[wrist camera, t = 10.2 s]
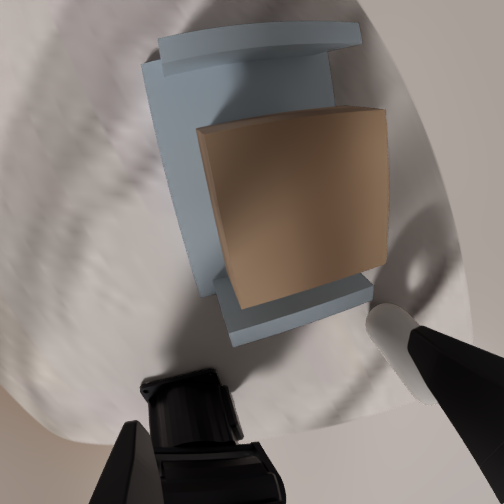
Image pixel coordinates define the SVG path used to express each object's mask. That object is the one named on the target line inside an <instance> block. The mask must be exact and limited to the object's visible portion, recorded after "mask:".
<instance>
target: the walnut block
mask: <svg viewBox="0 0 504 504" xmlns="http://www.w3.org/2000/svg"><path fill="white" fill-rule="evenodd" d="M196 133H197V138H198V143H199V148H200V153H201V158H202V162H203V167H204V172H205V177H206V181H207V186H208V191H209V195H210V200H211V204H212V209H213V214H214V218H215V223H216V227H217V231H218V236H219V240H220V245H221V249H222V253H223V258H224V262H225V266H226V271H227V273H228V276H229V279H230V281H231V284H232V286H233V289H234V291H235V294H236V297H237V299H238V302H239V304H240V307H241V309H245V308H249V307H252V306H256V305H259V304H262V303H266V302H269V301H272V300H276V299H279V298H282V297H286V296H289V295H292V294H296V293H299V292H302V291H305V290H308V289H312V288H315V287H318V286H321V285H324V284H327V283H330V282H333V281H337V280H340V279H343V278H346V277H349V276H352V275H355V274H358V273H361V272H364V271H367V270H369V269H372V268H375V267H378V266H381V265H384V264H386V257H387V240H388V211H389V167H388V139H387V122H386V110H383V109H375V108H365V107H355V106H334V107H323V108H314V109H305V110H297V111H289V112H282V113H275V114H268V115H262V116H256V117H250V118H244V119H239V120H234V121H228V122H223V123H218V124H213V125H209V126H204V127H200V128H196Z"/></svg>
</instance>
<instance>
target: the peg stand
mask: <svg viewBox="0 0 504 504" xmlns="http://www.w3.org/2000/svg"><path fill="white" fill-rule="evenodd" d="M158 44H159V52H160V59H159V60H155V61H151V62H147V63H144V64H141V68H142V73H143V78H144V83H145V88H146V93H147V97H148V102H149V107H150V111H151V116H152V120H153V125H154V129H155V133H156V138H157V142H158V146H159V150H160V154H161V158H162V162H163V167H164V170H165V174H166V178H167V182H168V186H169V190H170V194H171V197H172V201H173V205H174V209H175V212H176V216H177V220H178V223H179V227H180V230H181V234H182V237H183V241H184V244H185V248H186V251H187V254H188V258H189V261H190V264H191V268H192V271H193V274H194V278H195V281H196V284H197V287H198V291H199V294H200V297H201V298H202V297H206V296H210V295H213V294H216V295H217V298H218V301H219V305H220V308H221V311H222V314H223V318H224V321H225V324H226V327H227V330H228V334H229V337H230V340H231V343H232V346H233V347H236V346H240V345H243V344H246V343H250V342H253V341H256V340H260V339H263V338H266V337H269V336H272V335H275V334H279V333H282V332H285V331H288V330H291V329H294V328H297V327H300V326H303V325H306V324H309V323H312V322H314V321H317V320H320V319H323V318H326V317H329V316H331V315H334V314H337V313H340V312H342V311H345V310H348V309H351V308H353V307H356V306H358V305H361V304H364V303H366V302H369V301H371V300H373V291H374V285H373V284H372V283H371V282H370V281H369V280H368V279H367V278H366V277H365V276H364V275H362V274H361V273H358V274H355V275H352V276H349V277H346V278H343V279H340V280H337V281H333V282H330V283H327V284H324V285H321V286H318V287H315V288H312V289H308V290H305V291H302V292H299V293H296V294H292V295H289V296H286V297H282V298H279V299H276V300H272V301H269V302H266V303H262V304H259V305H256V306H252V307H249V308H245V309H241V307H240V304H239V302H238V299H237V297H236V294H235V291H234V289H233V286H232V284H231V281H230V279H229V276H228V273H227V271H226V266H225V262H224V258H223V253H222V249H221V245H220V240H219V236H218V231H217V227H216V223H215V218H214V214H213V209H212V204H211V200H210V195H209V191H208V186H207V181H206V177H205V172H204V167H203V162H202V158H201V153H200V148H199V143H198V138H197V133H196V128H200V127H204V126H209V125H213V124H218V123H223V122H228V121H234V120H239V119H244V118H250V117H256V116H262V115H268V114H275V113H282V112H289V111H297V110H305V109H314V108H323V107H334V106H335V100H334V93H333V85H332V78H331V72H330V65H329V59H328V53H327V52H328V51H332V50H337V49H341V48H346V47H350V46H355V45H360V44H362V38H361V32H360V27H359V23H355V22H337V21H282V22H264V23H252V24H241V25H232V26H224V27H217V28H210V29H204V30H198V31H193V32H187V33H182V34H177V35H172V36H168V37H163V38H159V39H158Z"/></svg>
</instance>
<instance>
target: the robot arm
mask: <svg viewBox="0 0 504 504" xmlns="http://www.w3.org/2000/svg"><path fill="white" fill-rule="evenodd" d="M407 350H408V353H409V355H410V356H411V358H412V360H413V362H414V364H415V365H416V367H417V369H418V371H419V373H420V375H421V377H422V378H423V380H424V382H425V384H426V386H427V387H428V389H429V390H430V392H431V393H432V395H433V396H434V397H435V399H436V400H437V402H438V403H439V405H440V406H441V408H442V409H443V411H444V412H445V414H446V415H447V417H448V418H449V420H450V421H451V423H452V424H453V426H454V427H455V429H456V431H457V432H458V433H459V435H460V437H461V438H462V440H463V442H464V443H465V445H466V446H467V448H468V449H469V451H470V453H471V454H472V456H473V457H474V459H475V461H476V462H477V464H478V466H479V467H480V469H481V471H482V473H483V474H484V476H485V478H486V479H487V481H488V483H489V484H490V486H491V488H492V489H493V491H494V493H495V495H496V497H497V498H498V500H499V502H500V503H501V504H503V503H504V358H503V357H500V356H498V355H495V354H492V353H490V352H488V351H485V350H483V349H480V348H477V347H475V346H472V345H470V344H467V343H465V342H462V341H460V340H457V339H455V338H452V337H450V336H447V335H445V334H442V333H440V332H437V331H435V330H432V329H430V328H427V327H425V326H418V327H416V328H414V329H412V330H411V332H410V335H409V340H408V344H407ZM209 374H211V375H209ZM140 393H141V394H142V396H143V397H144V399H145V400H146V402H147V403H148V410H149V426H150V435H149V433H148V432H147V430H146V429H145V428H144V427H143V426H142V424H141V423H140V422H139V421H137V420H133V421H127V422H125V423H124V425H123V427H122V429H121V431H120V434H119V436H118V438H117V440H116V442H115V445H114V447H113V449H112V451H111V453H110V456H109V458H108V460H107V462H106V465H105V467H104V469H103V472H102V474H101V476H100V478H99V481H98V483H97V486H96V488H95V490H94V492H93V495H92V497H91V499H90V502H89V504H286V493H285V488H284V484H283V481H282V479H281V477H280V475H279V474H278V472H277V470H276V469H275V467H274V466H273V464H272V462H271V461H270V459H269V458H268V456H267V455H266V453H265V451H264V449H263V448H262V446H261V445H260V443H259V442H251V443H250V444H238V440H242V439H243V437H244V435H243V431H242V428H241V425H240V422H239V418H238V415H237V412H236V408H235V405H234V402H233V399H232V396H231V394H230V391H229V389H228V387H227V386H226V385H223V386H222V385H221V382H220V380H219V377H218V374H217V372H216V370H215V369H212V368H210V369H205V370H201V371H198V372H194V373H190V374H186V375H182V376H178V377H173V378H169V379H165V380H161V381H156V382H152V383H147V384H143V385H141V386H140Z"/></svg>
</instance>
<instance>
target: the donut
mask: <svg viewBox="0 0 504 504" xmlns="http://www.w3.org/2000/svg"><path fill="white" fill-rule="evenodd" d="M418 326H420V325H419V324H418V323H417V322H416V321H415V320H414V319H413V318H412V317H411V316H410V315H409V314H408V313H407V312H406V311H405V310H403V309H402V308H401V307H399V306H397V305H395V304H389V303H383V304H379V305H377V306H376V307H374V308H373V309H372V310H371V311H370V312H369V314H368V316H367V318H366V330H367V333H368V334H369V336H370V338H371V340H372V341H373V342H374V344H375V345H376V347H377V348H378V349H379V351H380V352H381V353H382V355H383V356H384V358H385V359H386V360H387V362H388V363H389V364H390V366H391V367H392V368H393V370H394V371H395V372H396V374H397V375H398V376H399V378H400V379H401V381H402V382H403V383H404V385H405V386H406V387H407V389H408V390H409V391H410V392H411V394H412V395H413V396H414V398H415V399H417V400H418V401H419V402H420V403H422V404H425V405H434V404H437V403H438V402H437V400H436V399H435V397H434V396H433V395H432V393H431V392H430V390H429V389H428V387H427V386H426V384H425V382H424V380H423V378H422V377H421V375H420V373H419V371H418V369H417V367H416V365H415V364H414V362H413V360H412V358H411V356H410V355H409V353H408V350H407V344H408V340H409V335H410V332H411V330H412V329H414V328H416V327H418Z"/></svg>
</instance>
